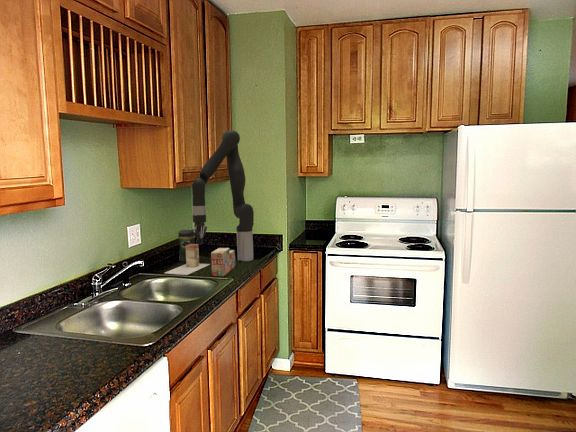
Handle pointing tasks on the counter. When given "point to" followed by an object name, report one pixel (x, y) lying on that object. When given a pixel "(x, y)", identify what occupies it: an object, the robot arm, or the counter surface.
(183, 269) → the grey mat
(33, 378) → the counter surface
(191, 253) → the birch block
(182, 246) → the coffee jar
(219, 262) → the printed cardboard box
